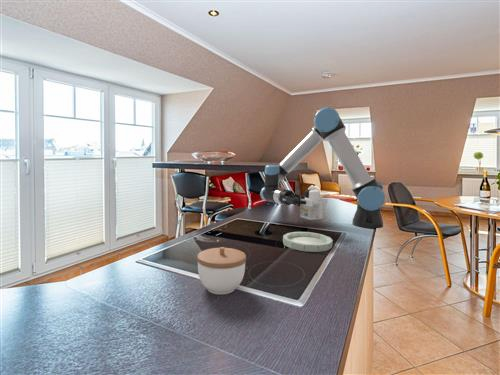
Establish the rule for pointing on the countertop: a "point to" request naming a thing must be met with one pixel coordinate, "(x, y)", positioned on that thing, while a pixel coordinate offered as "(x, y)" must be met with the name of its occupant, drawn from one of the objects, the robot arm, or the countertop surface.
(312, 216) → the container
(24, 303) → the countertop surface
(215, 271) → the lidded bowl
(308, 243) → the round tray
